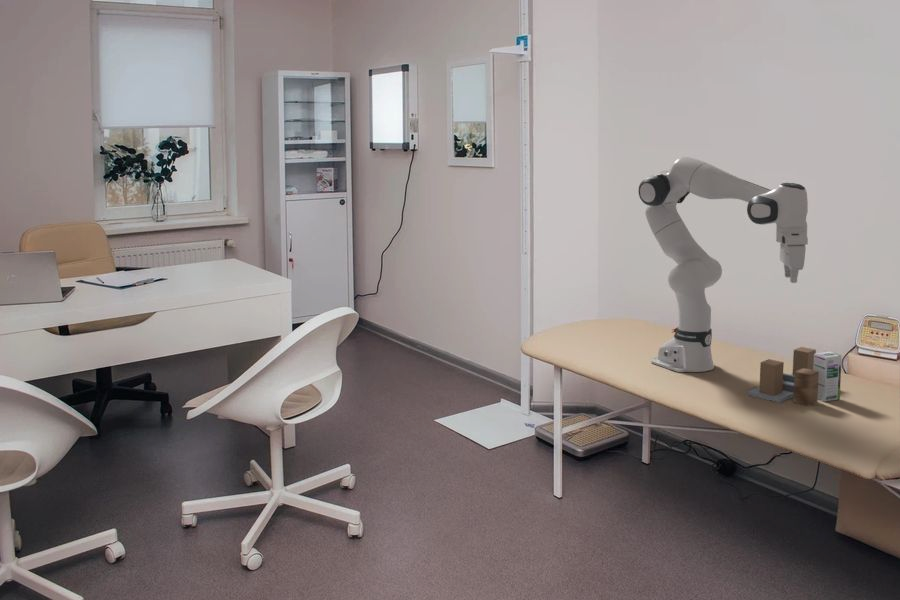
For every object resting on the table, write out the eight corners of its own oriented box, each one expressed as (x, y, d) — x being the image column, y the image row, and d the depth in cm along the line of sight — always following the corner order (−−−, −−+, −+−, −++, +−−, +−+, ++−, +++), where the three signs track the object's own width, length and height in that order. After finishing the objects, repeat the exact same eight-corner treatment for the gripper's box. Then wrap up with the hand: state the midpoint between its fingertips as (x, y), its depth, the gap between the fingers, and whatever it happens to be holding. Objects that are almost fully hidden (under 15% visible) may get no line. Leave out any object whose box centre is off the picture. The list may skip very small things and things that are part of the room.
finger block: (793, 402, 259) (794, 371, 257) (801, 398, 262) (803, 368, 260) (808, 406, 255) (810, 374, 253) (817, 402, 258) (818, 371, 256)
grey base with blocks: (748, 394, 267) (749, 361, 264) (793, 375, 284) (795, 344, 281) (779, 402, 258) (781, 368, 256) (825, 382, 275) (827, 350, 273)
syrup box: (824, 402, 257) (827, 357, 254) (811, 396, 263) (813, 352, 260) (840, 400, 259) (842, 355, 256) (826, 394, 264) (829, 350, 261)
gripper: (775, 232, 268) (774, 274, 270) (786, 240, 248) (785, 285, 251) (796, 231, 266) (795, 273, 269) (809, 239, 247) (808, 285, 249)
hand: (790, 279), depth 260 cm, fingers open, 8 cm apart
